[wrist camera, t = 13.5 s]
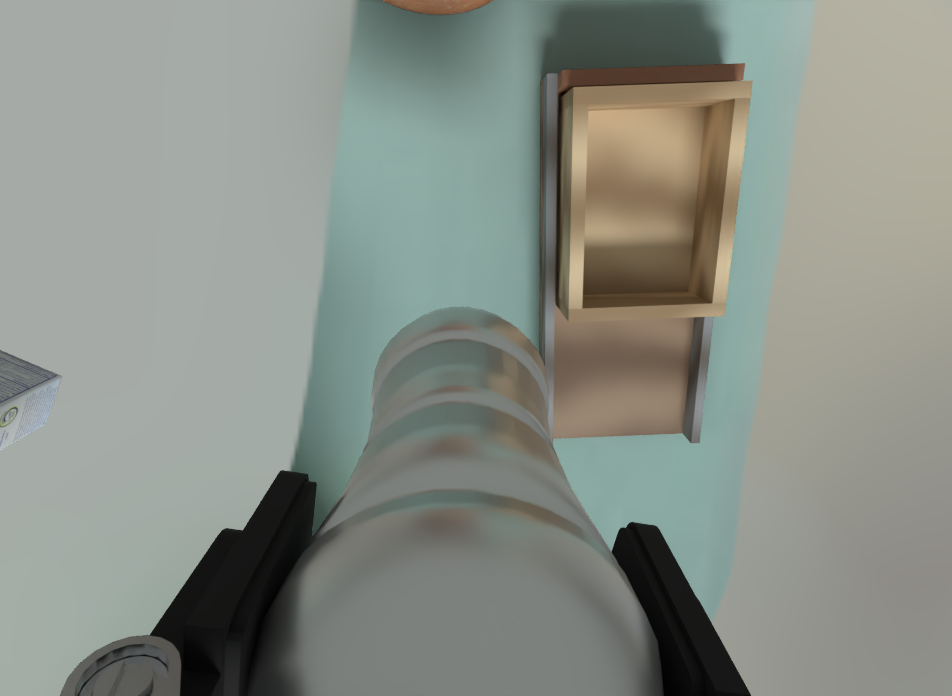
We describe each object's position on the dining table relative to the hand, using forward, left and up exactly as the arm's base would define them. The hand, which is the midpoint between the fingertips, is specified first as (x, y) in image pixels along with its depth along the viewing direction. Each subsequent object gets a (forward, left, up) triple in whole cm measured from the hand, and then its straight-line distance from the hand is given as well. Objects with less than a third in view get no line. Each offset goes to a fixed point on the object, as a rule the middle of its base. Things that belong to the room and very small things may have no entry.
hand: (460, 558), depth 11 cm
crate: (+8, -9, -25) cm, 28 cm away
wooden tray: (+4, -10, -26) cm, 28 cm away
